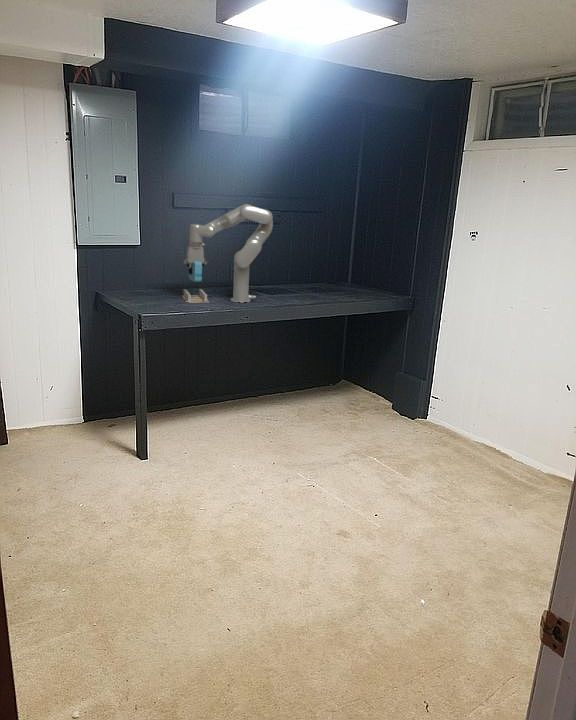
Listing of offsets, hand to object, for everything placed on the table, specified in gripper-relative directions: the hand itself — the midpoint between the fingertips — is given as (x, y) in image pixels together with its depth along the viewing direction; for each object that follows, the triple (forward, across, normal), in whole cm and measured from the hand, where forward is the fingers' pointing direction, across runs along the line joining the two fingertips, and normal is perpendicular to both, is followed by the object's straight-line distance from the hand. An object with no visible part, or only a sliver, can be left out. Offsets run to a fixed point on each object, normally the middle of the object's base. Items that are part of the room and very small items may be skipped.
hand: (195, 274), depth 361 cm
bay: (+16, 0, 0) cm, 16 cm away
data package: (+4, 0, 0) cm, 4 cm away
